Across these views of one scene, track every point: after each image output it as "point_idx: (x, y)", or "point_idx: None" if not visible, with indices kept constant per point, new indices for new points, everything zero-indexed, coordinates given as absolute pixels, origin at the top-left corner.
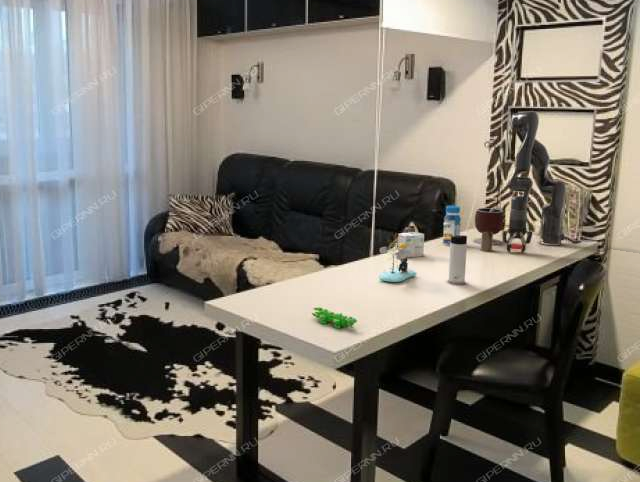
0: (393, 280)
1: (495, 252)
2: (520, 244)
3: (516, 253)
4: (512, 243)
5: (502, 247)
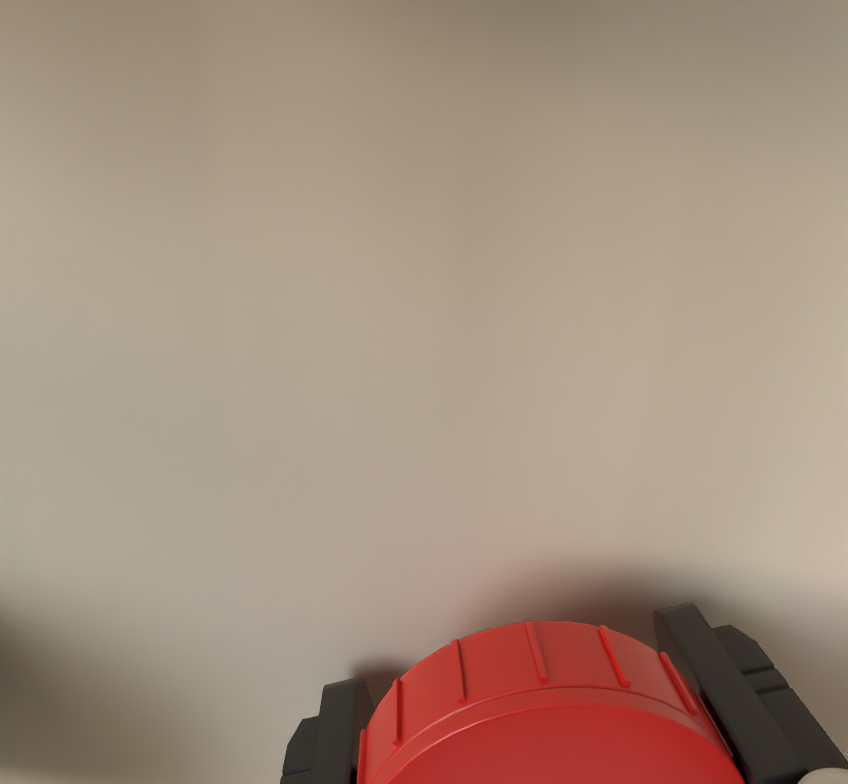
0: None
1: (77, 768)
2: (706, 782)
3: None
4: (451, 739)
5: (175, 149)
